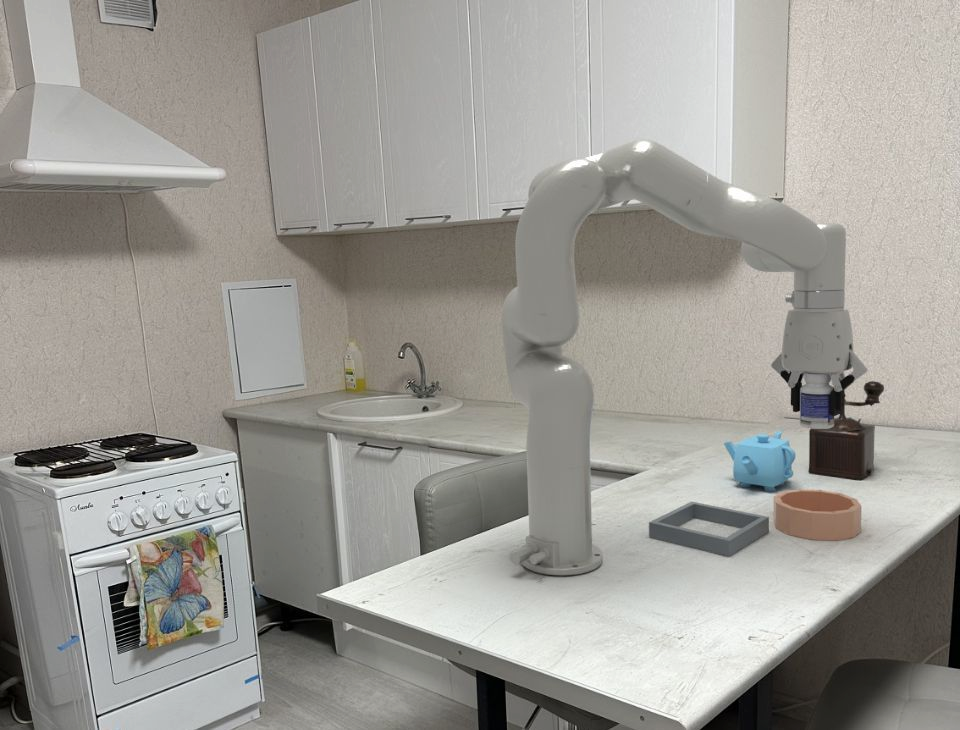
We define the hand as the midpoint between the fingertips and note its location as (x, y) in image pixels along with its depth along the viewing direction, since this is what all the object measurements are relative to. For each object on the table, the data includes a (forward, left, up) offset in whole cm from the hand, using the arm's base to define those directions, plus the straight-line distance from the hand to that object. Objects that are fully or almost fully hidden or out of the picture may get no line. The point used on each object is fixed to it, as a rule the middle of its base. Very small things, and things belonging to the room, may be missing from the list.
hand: (816, 411), depth 129 cm
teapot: (+18, +18, -20) cm, 32 cm away
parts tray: (-14, +12, -20) cm, 27 cm away
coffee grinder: (+39, +8, -20) cm, 45 cm away
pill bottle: (0, 0, -3) cm, 3 cm away
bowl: (0, 0, -20) cm, 20 cm away
